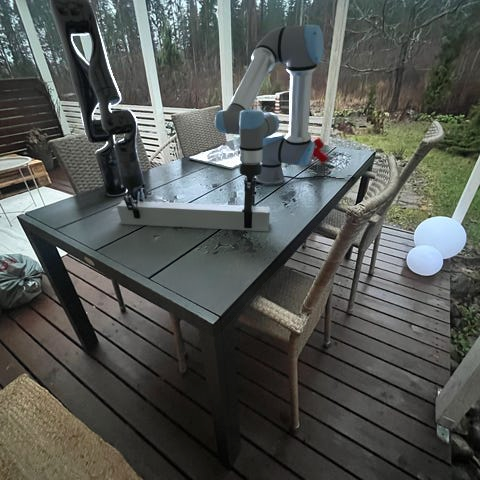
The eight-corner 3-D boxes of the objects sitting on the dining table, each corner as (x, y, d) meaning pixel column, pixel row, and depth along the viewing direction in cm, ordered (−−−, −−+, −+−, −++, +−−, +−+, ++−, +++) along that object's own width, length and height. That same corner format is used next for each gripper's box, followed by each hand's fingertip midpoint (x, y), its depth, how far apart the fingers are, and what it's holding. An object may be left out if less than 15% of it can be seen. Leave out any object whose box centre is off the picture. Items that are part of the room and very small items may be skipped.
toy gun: (331, 157, 168) (319, 136, 164) (331, 159, 164) (318, 137, 160) (306, 172, 178) (294, 153, 174) (305, 174, 174) (292, 154, 170)
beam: (269, 224, 104) (270, 206, 100) (268, 231, 100) (269, 212, 96) (127, 218, 110) (122, 200, 106) (121, 224, 106) (116, 206, 102)
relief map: (231, 168, 161) (231, 160, 158) (189, 159, 179) (189, 151, 176) (257, 158, 179) (257, 150, 176) (217, 150, 197) (216, 142, 194)
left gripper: (129, 165, 103) (139, 206, 112) (110, 178, 91) (122, 223, 100) (148, 166, 102) (156, 207, 111) (131, 179, 90) (142, 224, 99)
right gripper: (243, 151, 100) (242, 204, 112) (234, 173, 79) (235, 235, 91) (263, 152, 100) (261, 205, 111) (260, 174, 79) (257, 236, 90)
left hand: (140, 214), depth 105 cm, fingers closed on beam, 5 cm apart
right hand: (249, 218), depth 101 cm, fingers open, 13 cm apart
